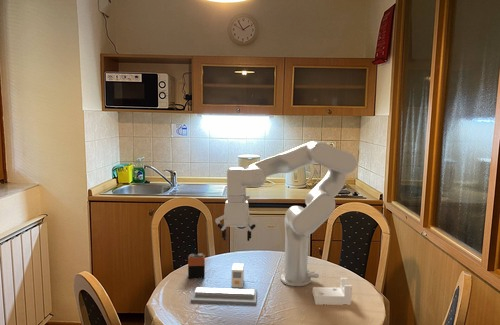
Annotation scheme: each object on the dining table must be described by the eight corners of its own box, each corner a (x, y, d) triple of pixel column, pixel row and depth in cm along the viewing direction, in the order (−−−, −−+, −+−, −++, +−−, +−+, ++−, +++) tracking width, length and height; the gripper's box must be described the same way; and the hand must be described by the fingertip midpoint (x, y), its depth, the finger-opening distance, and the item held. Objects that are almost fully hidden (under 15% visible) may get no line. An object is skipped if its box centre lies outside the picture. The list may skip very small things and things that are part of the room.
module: (243, 279, 157) (244, 263, 156) (242, 288, 149) (242, 270, 148) (233, 279, 157) (233, 263, 156) (231, 287, 149) (231, 270, 149)
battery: (204, 278, 157) (204, 255, 156) (188, 279, 157) (188, 256, 155) (204, 274, 162) (204, 252, 160) (188, 274, 161) (188, 252, 160)
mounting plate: (256, 292, 146) (256, 289, 146) (255, 304, 136) (255, 302, 136) (195, 289, 147) (195, 287, 147) (190, 302, 137) (190, 299, 137)
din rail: (253, 293, 143) (253, 289, 143) (253, 297, 139) (253, 294, 139) (196, 291, 144) (196, 287, 144) (195, 295, 140) (195, 291, 140)
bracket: (346, 296, 144) (347, 277, 144) (351, 305, 137) (352, 286, 136) (312, 295, 144) (313, 277, 144) (315, 305, 137) (316, 285, 136)
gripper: (258, 196, 152) (258, 237, 155) (216, 196, 154) (217, 236, 156) (257, 200, 145) (257, 243, 147) (213, 200, 146) (214, 242, 148)
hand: (236, 239), depth 151 cm, fingers open, 9 cm apart
